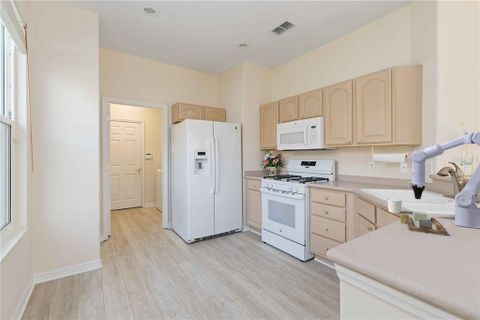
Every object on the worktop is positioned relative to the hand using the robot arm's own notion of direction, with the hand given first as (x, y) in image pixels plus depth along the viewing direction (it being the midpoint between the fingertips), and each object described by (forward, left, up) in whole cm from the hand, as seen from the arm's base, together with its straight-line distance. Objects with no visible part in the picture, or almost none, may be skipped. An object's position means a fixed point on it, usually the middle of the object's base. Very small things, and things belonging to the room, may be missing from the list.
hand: (417, 199), depth 120 cm
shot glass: (+10, -5, -10) cm, 15 cm away
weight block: (0, +26, -10) cm, 27 cm away
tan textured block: (+7, +17, -9) cm, 21 cm away
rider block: (0, +8, -10) cm, 12 cm away
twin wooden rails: (0, +17, -9) cm, 19 cm away
